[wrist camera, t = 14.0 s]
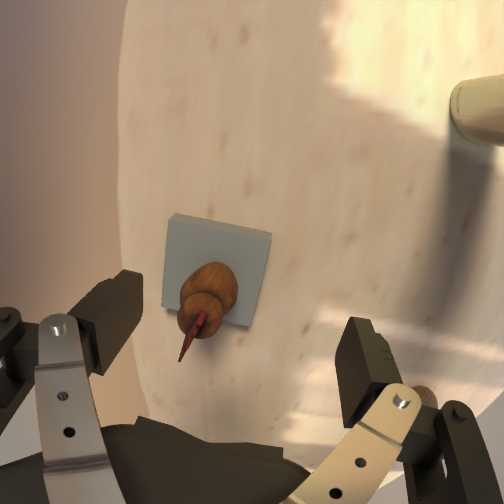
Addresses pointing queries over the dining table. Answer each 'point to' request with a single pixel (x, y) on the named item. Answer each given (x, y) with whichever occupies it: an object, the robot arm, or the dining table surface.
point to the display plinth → (219, 250)
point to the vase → (426, 396)
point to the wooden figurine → (205, 301)
